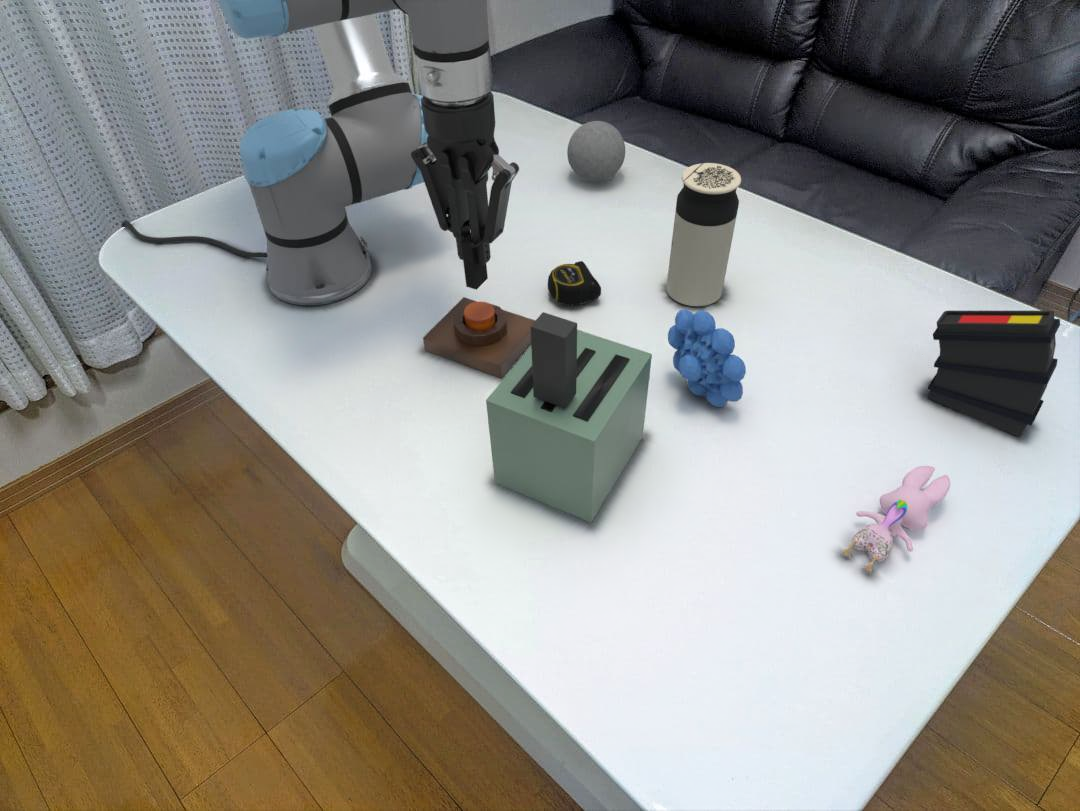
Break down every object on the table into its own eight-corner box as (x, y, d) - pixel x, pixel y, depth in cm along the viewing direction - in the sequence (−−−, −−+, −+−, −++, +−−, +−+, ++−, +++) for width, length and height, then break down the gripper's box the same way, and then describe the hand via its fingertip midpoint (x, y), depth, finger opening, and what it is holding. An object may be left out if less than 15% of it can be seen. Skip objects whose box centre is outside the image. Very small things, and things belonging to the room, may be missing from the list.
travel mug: (732, 289, 106) (755, 174, 93) (701, 315, 102) (720, 199, 89) (686, 268, 110) (703, 155, 97) (655, 292, 106) (667, 178, 93)
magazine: (1056, 443, 82) (1050, 326, 75) (930, 429, 92) (914, 325, 85) (1065, 424, 84) (1059, 309, 77) (940, 412, 94) (926, 309, 87)
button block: (424, 350, 98) (420, 327, 95) (465, 309, 104) (462, 286, 102) (501, 378, 94) (499, 355, 91) (538, 333, 100) (538, 310, 97)
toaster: (494, 482, 82) (485, 398, 73) (553, 403, 91) (551, 319, 81) (591, 523, 78) (594, 440, 69) (642, 436, 86) (652, 352, 77)
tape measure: (602, 304, 104) (603, 283, 102) (556, 314, 103) (556, 293, 100) (585, 278, 109) (586, 256, 106) (541, 287, 108) (541, 266, 105)
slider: (533, 397, 72) (530, 326, 66) (544, 382, 74) (542, 311, 68) (565, 409, 71) (565, 338, 65) (576, 393, 73) (577, 322, 66)
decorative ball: (627, 167, 132) (631, 113, 125) (619, 195, 126) (622, 139, 119) (573, 163, 134) (573, 108, 127) (562, 190, 127) (561, 134, 120)
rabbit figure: (880, 591, 73) (963, 497, 78) (893, 564, 68) (981, 466, 73) (825, 551, 76) (909, 463, 81) (835, 523, 72) (923, 431, 77)
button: (459, 325, 96) (457, 314, 95) (475, 308, 99) (474, 298, 97) (485, 334, 95) (484, 323, 94) (501, 317, 97) (500, 306, 96)
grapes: (641, 384, 93) (648, 309, 84) (678, 361, 96) (689, 286, 87) (711, 436, 86) (727, 360, 78) (748, 409, 89) (768, 333, 81)
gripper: (383, 95, 75) (417, 284, 92) (491, 118, 71) (506, 313, 87) (425, 70, 80) (450, 254, 97) (529, 90, 75) (537, 280, 92)
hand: (477, 282), depth 92 cm, fingers closed
